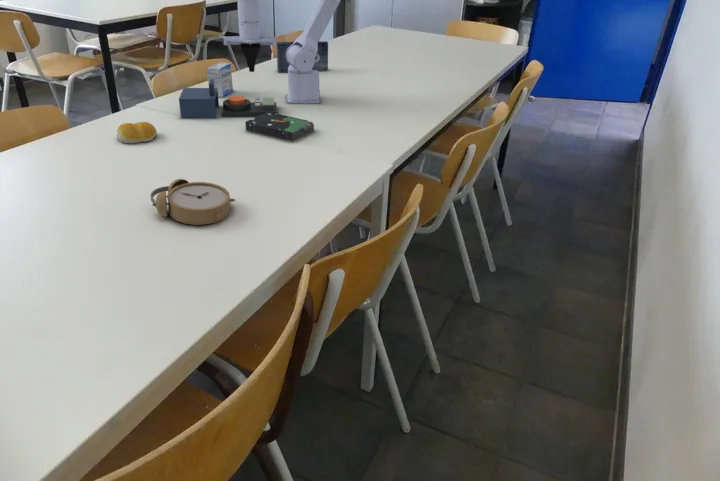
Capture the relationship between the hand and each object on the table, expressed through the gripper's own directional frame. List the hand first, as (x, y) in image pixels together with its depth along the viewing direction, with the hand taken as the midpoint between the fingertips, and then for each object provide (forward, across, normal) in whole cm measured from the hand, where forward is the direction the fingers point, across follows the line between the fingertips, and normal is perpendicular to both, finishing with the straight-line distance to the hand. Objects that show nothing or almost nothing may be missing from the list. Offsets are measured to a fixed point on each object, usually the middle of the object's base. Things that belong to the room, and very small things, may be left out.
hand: (251, 71), depth 158 cm
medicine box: (+10, -10, +9) cm, 17 cm away
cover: (+9, -15, -9) cm, 19 cm away
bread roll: (+10, -28, -29) cm, 41 cm away
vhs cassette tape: (+10, +17, +38) cm, 43 cm away
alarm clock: (+10, -11, -68) cm, 69 cm away
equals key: (+7, -4, -9) cm, 12 cm away
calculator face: (+6, +3, -9) cm, 11 cm away
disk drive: (+10, +7, -25) cm, 27 cm away
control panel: (+9, -1, -9) cm, 13 cm away
